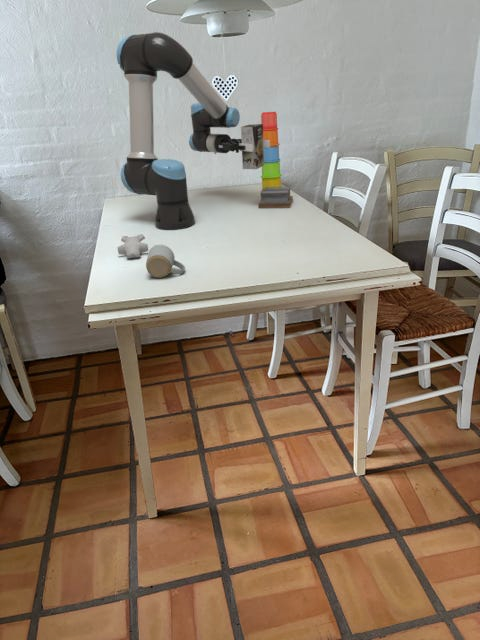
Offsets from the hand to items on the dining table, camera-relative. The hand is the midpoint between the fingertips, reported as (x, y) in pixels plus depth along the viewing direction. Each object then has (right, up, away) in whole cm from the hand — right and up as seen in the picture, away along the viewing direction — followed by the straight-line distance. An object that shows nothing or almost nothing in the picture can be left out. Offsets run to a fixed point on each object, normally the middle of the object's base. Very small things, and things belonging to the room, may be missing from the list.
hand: (261, 145), depth 189 cm
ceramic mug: (-30, -56, -51) cm, 81 cm away
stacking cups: (+7, -9, +35) cm, 37 cm away
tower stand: (+7, -20, +14) cm, 25 cm away
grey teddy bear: (-43, -47, -33) cm, 72 cm away
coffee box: (-3, -7, +7) cm, 10 cm away
